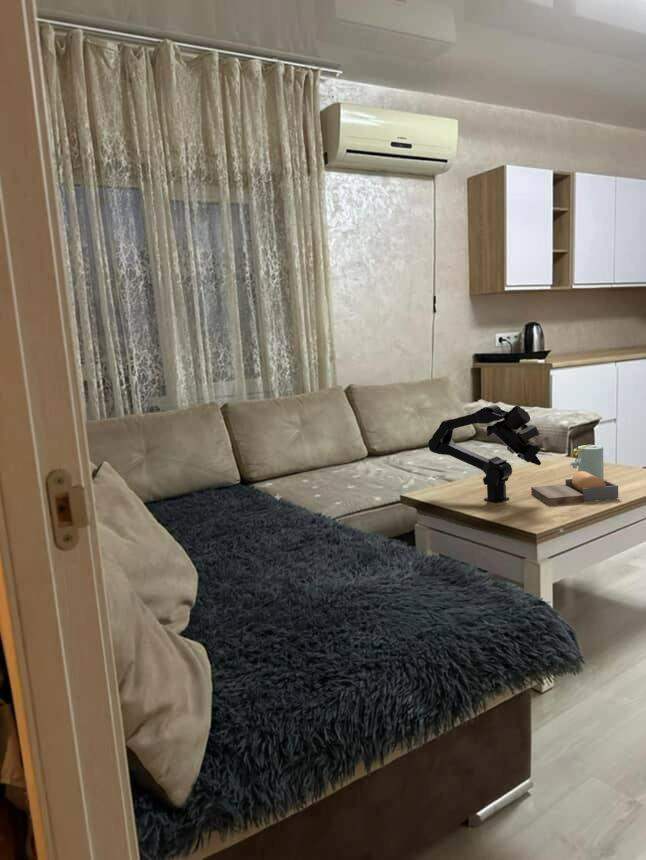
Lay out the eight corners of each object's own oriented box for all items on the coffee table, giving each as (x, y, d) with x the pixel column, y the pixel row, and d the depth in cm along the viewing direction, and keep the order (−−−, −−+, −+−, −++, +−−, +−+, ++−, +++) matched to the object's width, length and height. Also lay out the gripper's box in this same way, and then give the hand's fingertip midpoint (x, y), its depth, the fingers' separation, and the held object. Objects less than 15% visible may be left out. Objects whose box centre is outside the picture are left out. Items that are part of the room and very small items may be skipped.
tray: (584, 501, 207) (583, 488, 206) (565, 491, 221) (565, 479, 220) (618, 498, 207) (618, 485, 206) (597, 488, 221) (597, 476, 221)
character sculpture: (582, 473, 245) (581, 440, 243) (612, 476, 237) (611, 442, 235) (561, 484, 231) (561, 449, 229) (593, 488, 223) (592, 451, 221)
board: (548, 505, 206) (548, 498, 205) (531, 493, 222) (531, 487, 221) (584, 502, 206) (584, 495, 206) (564, 491, 222) (563, 484, 221)
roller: (587, 476, 207) (583, 496, 208) (607, 479, 208) (603, 499, 209) (574, 469, 218) (570, 488, 219) (593, 472, 219) (589, 491, 220)
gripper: (533, 421, 202) (567, 452, 204) (514, 414, 220) (545, 442, 222) (510, 446, 203) (544, 476, 205) (493, 437, 221) (524, 465, 223)
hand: (540, 464), depth 214 cm, fingers closed
